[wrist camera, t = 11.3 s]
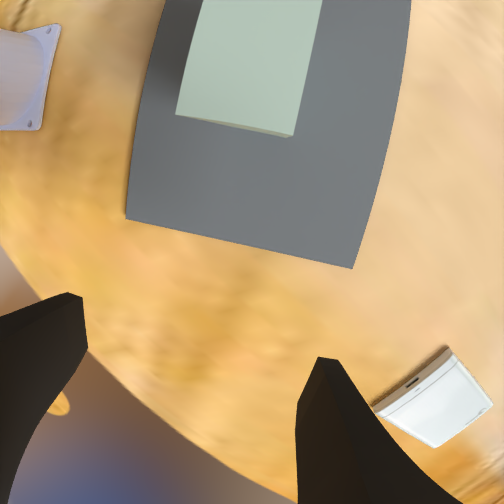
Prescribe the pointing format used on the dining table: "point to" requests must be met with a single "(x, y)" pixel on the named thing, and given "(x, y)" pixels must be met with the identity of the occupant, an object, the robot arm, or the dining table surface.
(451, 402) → the hard drive
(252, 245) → the slate mat
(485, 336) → the dining table surface
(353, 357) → the dining table surface
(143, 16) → the dining table surface
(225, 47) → the tall pastel pillar
